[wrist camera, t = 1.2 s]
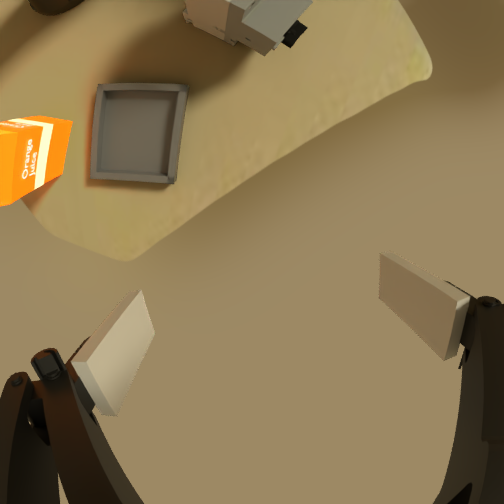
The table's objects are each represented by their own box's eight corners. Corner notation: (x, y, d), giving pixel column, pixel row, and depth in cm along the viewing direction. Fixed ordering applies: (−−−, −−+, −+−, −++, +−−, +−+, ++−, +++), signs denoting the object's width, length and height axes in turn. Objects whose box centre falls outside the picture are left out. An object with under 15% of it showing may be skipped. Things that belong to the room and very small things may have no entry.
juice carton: (29, 165, 33) (-50, 208, 15) (38, 115, 29) (-49, 134, 12) (63, 174, 35) (-16, 223, 17) (73, 121, 31) (-13, 140, 14)
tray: (104, 85, 30) (98, 84, 28) (189, 86, 32) (187, 84, 30) (96, 174, 36) (90, 178, 34) (176, 179, 39) (173, 184, 36)
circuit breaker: (269, 67, 32) (300, 43, 19) (185, 22, 27) (171, -21, 14) (297, 33, 30) (339, 0, 17) (215, -12, 25) (218, -63, 12)
